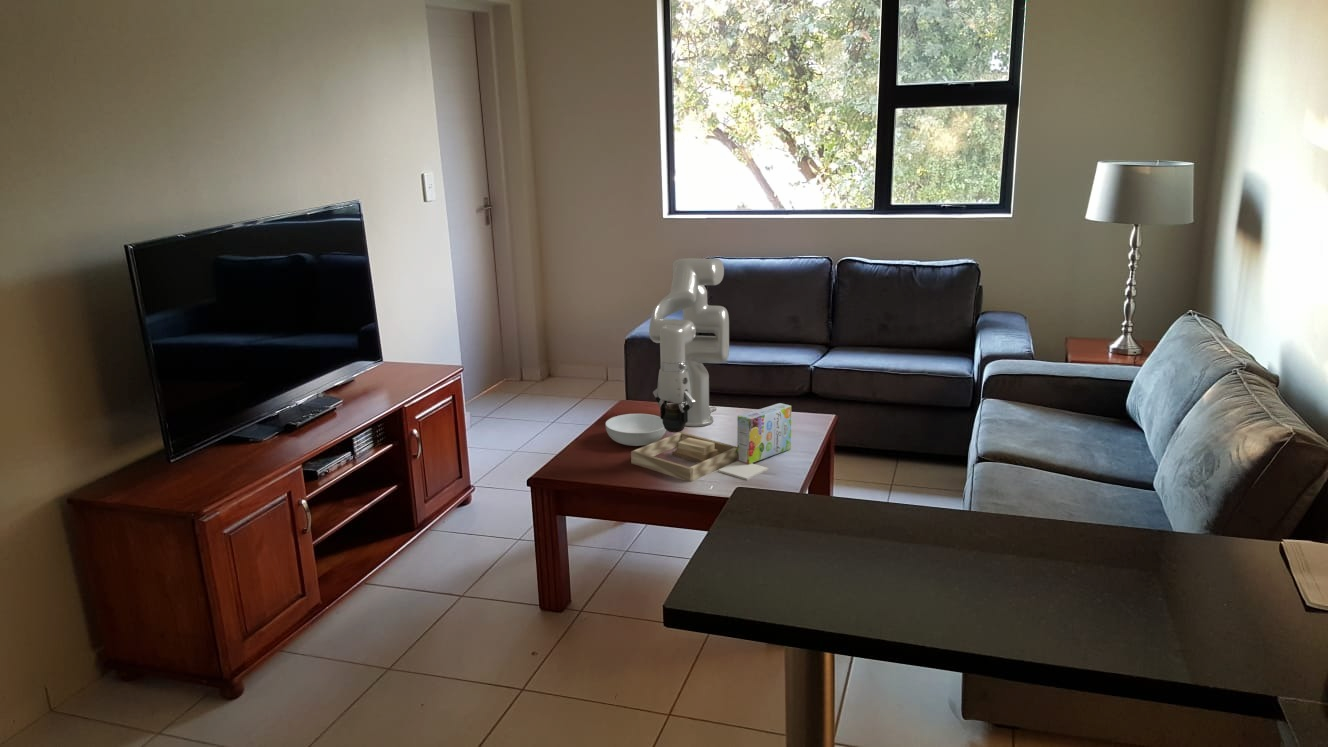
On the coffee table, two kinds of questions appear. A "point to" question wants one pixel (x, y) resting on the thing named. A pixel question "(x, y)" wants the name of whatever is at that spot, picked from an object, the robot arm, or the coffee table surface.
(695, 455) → the slat oak
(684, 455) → the slat walnut
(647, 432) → the serving bowl
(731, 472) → the mat
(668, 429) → the mate gourd
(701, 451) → the slat pine
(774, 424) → the snack box
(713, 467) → the tray
